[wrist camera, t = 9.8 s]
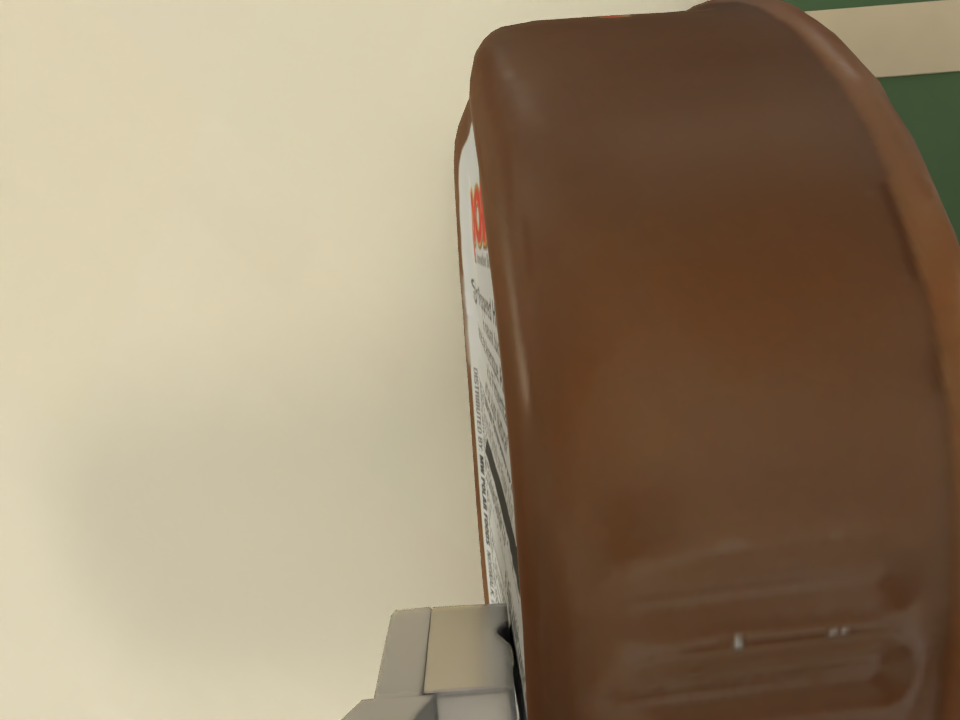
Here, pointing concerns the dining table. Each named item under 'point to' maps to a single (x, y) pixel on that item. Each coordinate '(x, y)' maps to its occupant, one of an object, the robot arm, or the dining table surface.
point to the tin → (709, 372)
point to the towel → (910, 72)
